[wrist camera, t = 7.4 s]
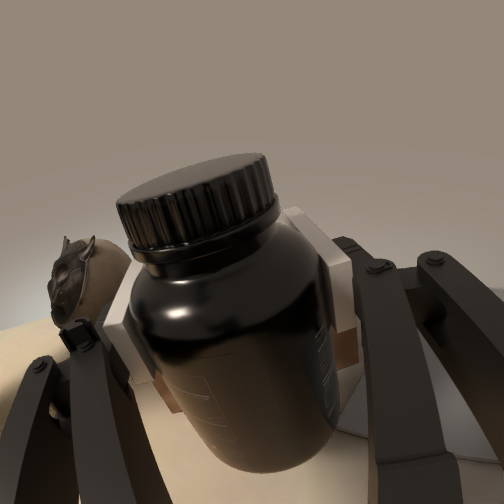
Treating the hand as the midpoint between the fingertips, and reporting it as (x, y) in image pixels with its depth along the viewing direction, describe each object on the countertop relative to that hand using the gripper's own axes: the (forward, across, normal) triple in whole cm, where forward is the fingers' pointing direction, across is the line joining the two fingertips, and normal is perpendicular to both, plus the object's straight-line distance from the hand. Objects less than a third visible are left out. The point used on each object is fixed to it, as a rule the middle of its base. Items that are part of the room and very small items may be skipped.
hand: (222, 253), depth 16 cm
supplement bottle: (-5, 0, -7) cm, 9 cm away
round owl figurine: (+12, -14, -12) cm, 22 cm away
